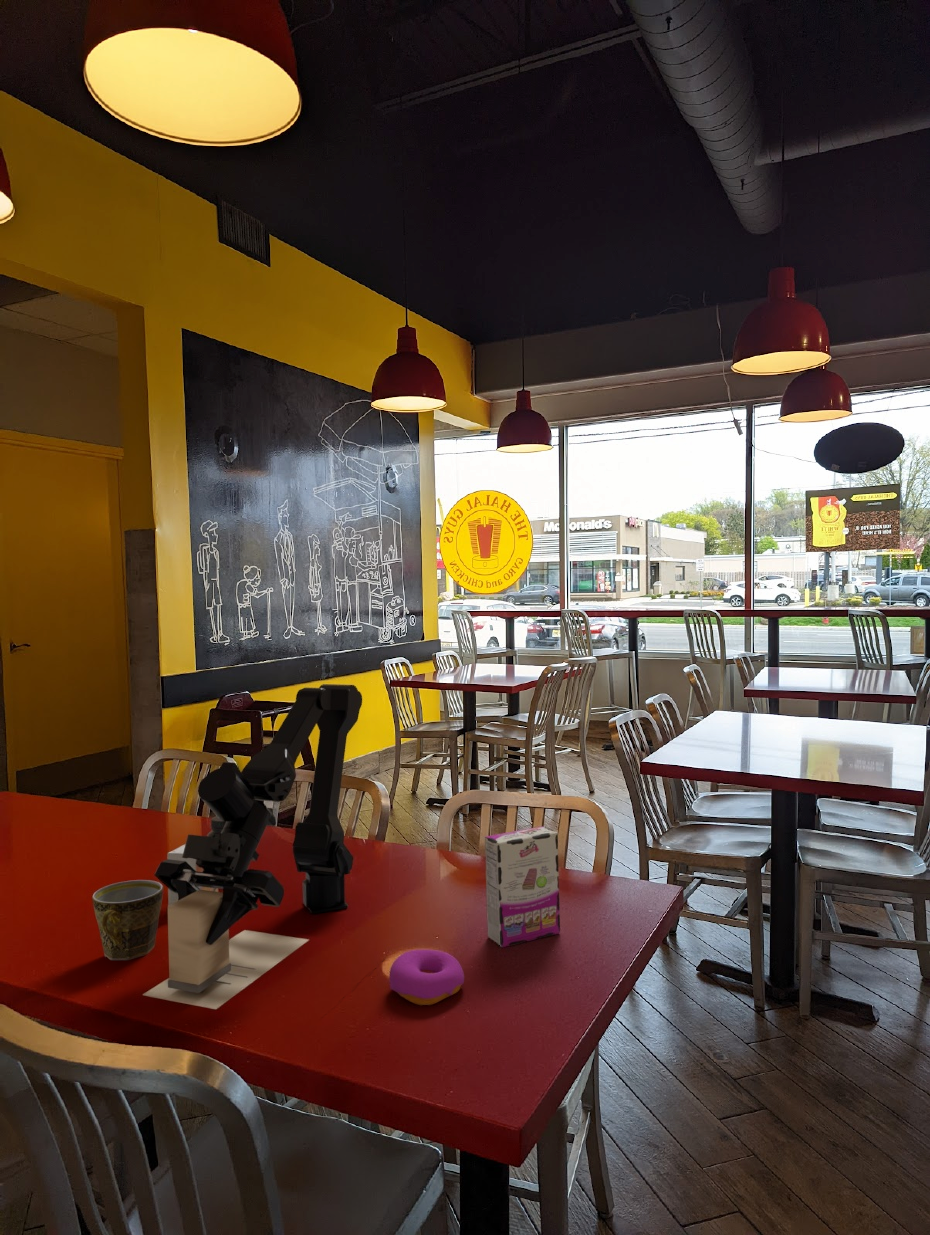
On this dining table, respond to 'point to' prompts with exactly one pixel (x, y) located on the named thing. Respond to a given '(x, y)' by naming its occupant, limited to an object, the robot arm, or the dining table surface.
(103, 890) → the ceramic cup
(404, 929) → the dining table surface
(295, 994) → the dining table surface
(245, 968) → the white lined paper sheet
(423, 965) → the donut
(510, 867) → the candy bar box
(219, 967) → the block
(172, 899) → the small box
